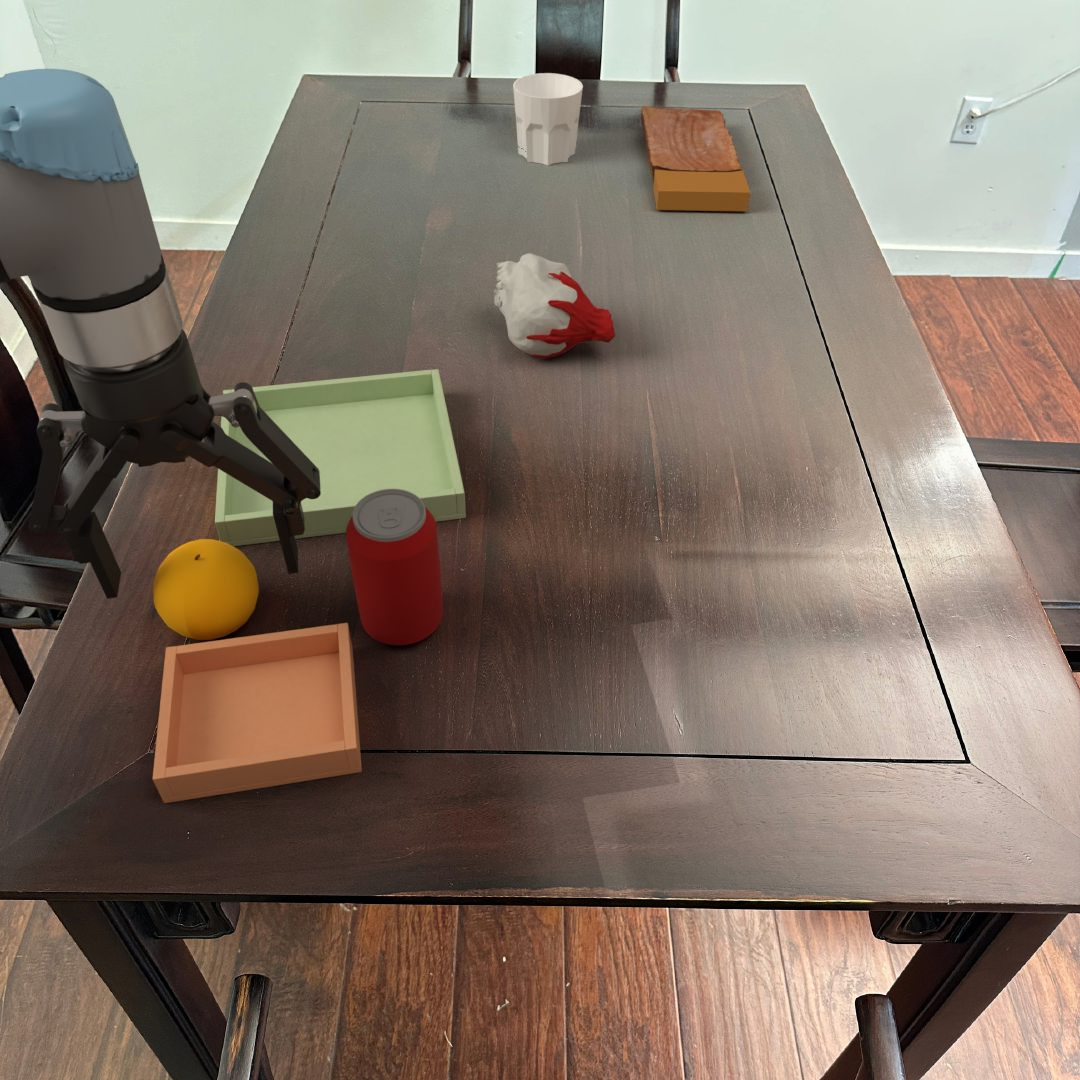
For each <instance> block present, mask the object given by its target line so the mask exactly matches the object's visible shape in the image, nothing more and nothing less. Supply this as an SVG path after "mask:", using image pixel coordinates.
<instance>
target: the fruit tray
mask: <svg viewBox="0 0 1080 1080" xmlns="http://www.w3.org/2000/svg"><path fill="white" fill-rule="evenodd" d="M251 387H252V388H253V391H254V393H255V396H256V398H257V401H258V403H259V406H260V408H261V409H262V410H263V411H264V412H265V413H266V414H267V415H268V416H269V417H270V418H271V419H272V420H273V421H274V422H275V423H276V424H277V426H278V427H279V428H280V429H281V430H282V431H283V432H284V433H285V434H286V435H287V436H288V437H289V438H290V439H291V440H292V441H293V442H294V444H295V445H296V446H297V447H298V448H299V449H300V450H301V451H302V452H303V453H304V454H305V455H306V456H307V457H308V458H309V459H310V460H311V462H312V463H313V464H314V465H315V466H316V467H317V468H318V469H319V471H320V487H321V489H320V490H321V495H320V496H319V497H318V498H316V499H308V498H306V499H304V500H302V501H301V505H302V509H303V513H304V521H305V530H304V534H303V535H296V536H295V540H298V539H304V538H305V539H306V538H313V537H323V536H330V535H338V534H346V528H347V524H348V522H349V520H350V518H351V517H352V515H353V510H354V508H355V506H356V504H357V503H358V502H359V501H360V500H361V499H362V498H363V497H365V496H367V495H368V494H370V493H373V492H375V491H379V490H383V489H401V490H406V491H409V492H411V493H413V494H415V495H416V496H418V497H419V498H420V499H421V500H422V502H423V503H424V505H425V507H426V508H427V509H428V510H429V511H430V512H431V514H432V515H433V517H434V519H435V522H436V523H438V522H444V521H453V520H460V519H466V518H467V513H466V511H467V510H466V493H465V488H464V484H463V478H462V474H461V469H460V463H459V459H458V455H457V450H456V446H455V441H454V436H453V431H452V427H451V421H450V416H449V412H448V407H447V402H446V399H445V393H444V388H443V384H442V380H441V373H440V370H439V369H438V368H436V369H424V370H423V369H422V370H414V371H403V372H394V373H383V374H374V375H362V376H354V377H344V378H333V379H324V380H322V379H321V380H313V381H303V382H292V383H291V382H290V383H282V384H273V385H271V384H270V385H263V386H251ZM232 392H234V388H233V389H223V390H222V394H227V393H232ZM220 417H221V418H220V419H221V421H220V427H221V428H222V429H223V431H224V432H225V434H226V435H228V436H229V437H231V438H232V439H234V440H236V441H237V442H239V443H240V444H242V445H244V446H245V447H247V448H248V449H250V450H252V451H253V452H255V453H256V454H258V455H260V456H261V457H263V458H264V459H266V460H267V461H269V460H268V459H267V458H266V457H265V456H264V455H263V454H262V452H261V451H260V450H259V449H258V448H257V447H256V446H255V445H254V444H253V443H252V442H251V441H250V440H249V439H248V438H247V437H246V436H245V434H244V433H243V431H242V430H241V428H240V426H239V427H236V428H235V427H233V426H232V425H231V423H230V422H229V421H228V420H227V419H226V418H225V417H222V416H220ZM269 462H270V461H269ZM215 496H216V498H215V512H214V525H215V528H216V531H217V534H218V539H219V541H222V542H225V543H228V544H230V545H231V546H233V547H240V546H248V545H255V544H256V545H257V544H264V543H271V542H272V543H274V542H280V540H279V536H278V532H277V528H276V524H275V521H274V517H273V501H272V500H270V499H268V498H267V497H265V496H263V495H262V494H260V493H258V492H257V491H255V490H253V489H252V488H250V487H248V486H246V485H245V484H243V483H241V482H240V481H238V480H236V479H235V478H233V477H231V476H230V475H228V474H226V473H225V472H223V471H221V470H220V469H218V468H217V481H216V495H215Z"/></svg>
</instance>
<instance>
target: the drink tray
mask: <svg viewBox="0 0 1080 1080" xmlns="http://www.w3.org/2000/svg"><path fill="white" fill-rule="evenodd" d="M350 631H351V630H350V625H349V623H348V622H342V623H335V624H328V625H320V626H314V627H306V628H299V629H292V630H284V631H277V632H270V633H269V632H268V633H263V634H262V633H261V634H256V635H255V634H254V635H248V636H240V637H233V638H225V639H219V640H209V641H203V642H196V643H195V642H194V643H189V644H183V645H182V644H180V645H173V646H167V647H165V655H164V665H163V674H162V683H161V692H160V703H159V713H158V722H157V732H156V740H155V741H156V742H155V749H154V760H153V771H152V782H153V784H154V785H155V788H156V790H157V791H158V793H159V796H160V798H161V800H162V802H163V804H170V803H177V802H183V801H187V800H188V801H189V800H195V799H200V798H208V797H213V796H220V795H226V794H232V793H233V794H234V793H238V792H246V791H252V790H256V789H258V790H259V789H263V788H269V787H275V786H281V785H288V784H289V785H290V784H295V783H301V782H307V781H314V780H320V779H326V778H333V777H340V776H345V775H352V774H358V773H362V772H363V769H362V756H361V755H362V753H361V742H360V741H361V740H360V729H359V728H360V727H359V716H358V715H359V713H358V701H357V687H356V674H355V660H354V659H355V658H354V648H353V643H352V642H353V641H352V638H351V637H352V636H351V632H350Z"/></svg>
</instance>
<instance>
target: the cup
mask: <svg viewBox="0 0 1080 1080" xmlns="http://www.w3.org/2000/svg"><path fill="white" fill-rule="evenodd" d="M583 88H584V85H583V83H582V81H580V80H579V79H577V78H575V77H574V76H570V75H567V74H561V73H555V72H553V73H552V72H544V73H543V72H540V73H533V74H527V75H524V76H521V77H519V78H517V79H516V80H515V81H513V85H512V90H513V100H514V101H513V102H514V112H515V124H516V139H517V140H516V141H517V153H518V155H520V156H523V158H525V159H526V162H527V163H536V164H541V165H545V166H547V167H548V166H551V165H553V164H559V163H568V162H569V158H571V156H574V155H576V148H577V139H578V131H579V130H578V129H579V120H580V114H581V113H580V112H581V104H582V96H583ZM518 146H519V147H520V148H519V147H518ZM521 148H523V149H524V150H523V149H521ZM525 151H526V152H525Z"/></svg>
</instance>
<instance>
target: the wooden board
mask: <svg viewBox="0 0 1080 1080" xmlns="http://www.w3.org/2000/svg"><path fill="white" fill-rule="evenodd" d="M640 109H641V115H640V120H641V121H640V122H641V127H642V131H643V137H644V141H645V147H646V156H647V161H648V165H649V170H650V175H651V180H652V181H651V182H652V185H653V188H652V189H653V191H652V192H653V197H654V202H655V207H656V210H657V211H701V212H702V211H703V212H748V210H749V204H750V198H751V190H750V188H749V184H748V181H747V178H746V175H745V172H744V170H742V169H743V168H742V165H741V163H740V161H739V157H738V153H737V150H736V146H735V144H734V143H733V139H734V137H733V136H732V135H731V134H730V131H729V129H728V127H727V126H726V119H725V117H724V114H723V112H722V111H720V110H715V109H714V110H712V109H696V108H695V109H694V108H670V107H669V108H664V107H655V106H653V107H652V106H642V107H641V108H640Z"/></svg>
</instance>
